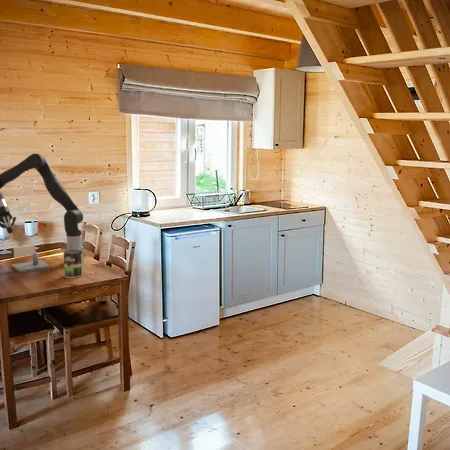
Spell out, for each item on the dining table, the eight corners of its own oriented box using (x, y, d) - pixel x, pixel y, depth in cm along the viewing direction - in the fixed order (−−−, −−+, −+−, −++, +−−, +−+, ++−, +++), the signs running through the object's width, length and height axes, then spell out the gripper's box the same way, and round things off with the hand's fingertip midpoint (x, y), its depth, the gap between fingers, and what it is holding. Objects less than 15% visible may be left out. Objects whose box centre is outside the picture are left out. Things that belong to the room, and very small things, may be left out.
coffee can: (77, 278, 287) (76, 254, 285) (61, 277, 290) (59, 253, 287) (86, 273, 297) (85, 250, 295) (70, 272, 300) (69, 249, 297)
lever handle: (37, 262, 316) (36, 244, 314) (39, 263, 313) (38, 245, 311) (14, 265, 308) (13, 246, 306) (15, 267, 305) (14, 247, 303)
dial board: (42, 262, 324) (42, 260, 323) (50, 268, 309) (50, 265, 309) (12, 266, 313) (12, 264, 313) (19, 272, 299) (19, 270, 299)
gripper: (10, 208, 326) (19, 232, 323) (-11, 212, 317) (-2, 237, 314) (13, 203, 320) (22, 228, 317) (-9, 207, 311) (1, 233, 309)
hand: (10, 233), depth 316 cm, fingers closed
